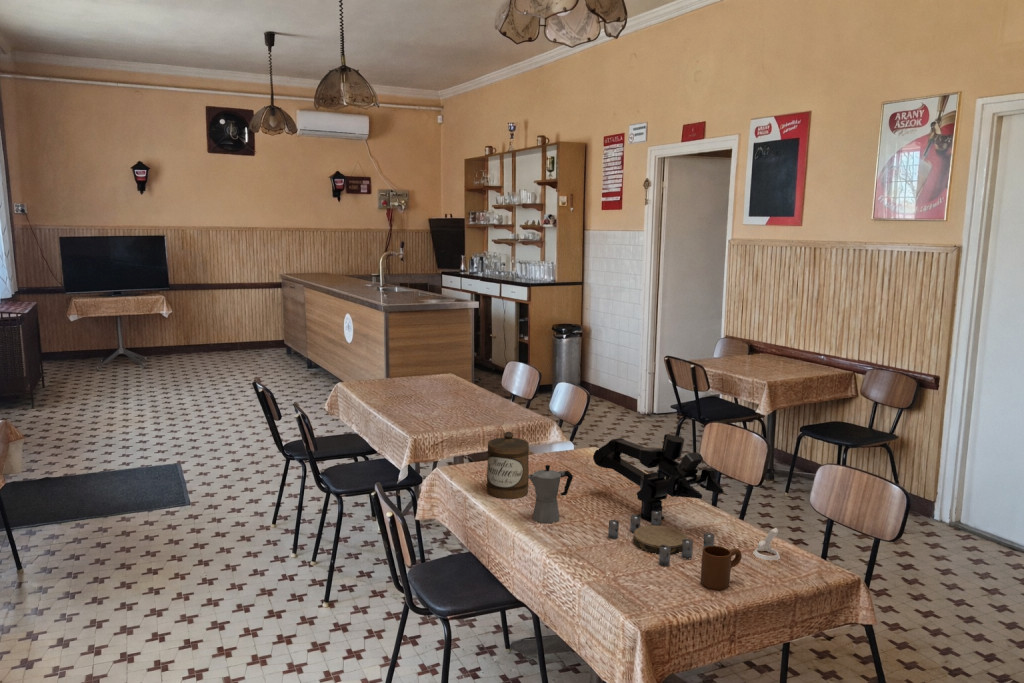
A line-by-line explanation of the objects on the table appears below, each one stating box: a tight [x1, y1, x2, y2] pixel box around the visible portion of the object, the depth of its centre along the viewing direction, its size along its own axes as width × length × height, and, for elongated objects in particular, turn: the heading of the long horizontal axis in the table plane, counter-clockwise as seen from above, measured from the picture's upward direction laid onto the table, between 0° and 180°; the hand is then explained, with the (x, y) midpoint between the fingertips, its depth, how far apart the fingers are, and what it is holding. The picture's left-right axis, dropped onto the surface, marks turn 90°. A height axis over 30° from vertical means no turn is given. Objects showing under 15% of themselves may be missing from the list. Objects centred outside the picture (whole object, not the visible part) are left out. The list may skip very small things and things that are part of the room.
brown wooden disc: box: [632, 525, 688, 555], centre depth 229 cm, size 16×16×3 cm
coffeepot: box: [528, 464, 573, 524], centre depth 247 cm, size 15×9×18 cm, turn 107°
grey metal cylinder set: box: [607, 509, 715, 567], centre depth 229 cm, size 25×21×5 cm
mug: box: [700, 545, 743, 591], centre depth 204 cm, size 12×8×9 cm, turn 114°
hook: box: [752, 527, 781, 561], centre depth 220 cm, size 8×12×7 cm
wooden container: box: [486, 431, 530, 499], centre depth 271 cm, size 15×15×22 cm
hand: (712, 494), depth 228 cm, fingers open, 9 cm apart
